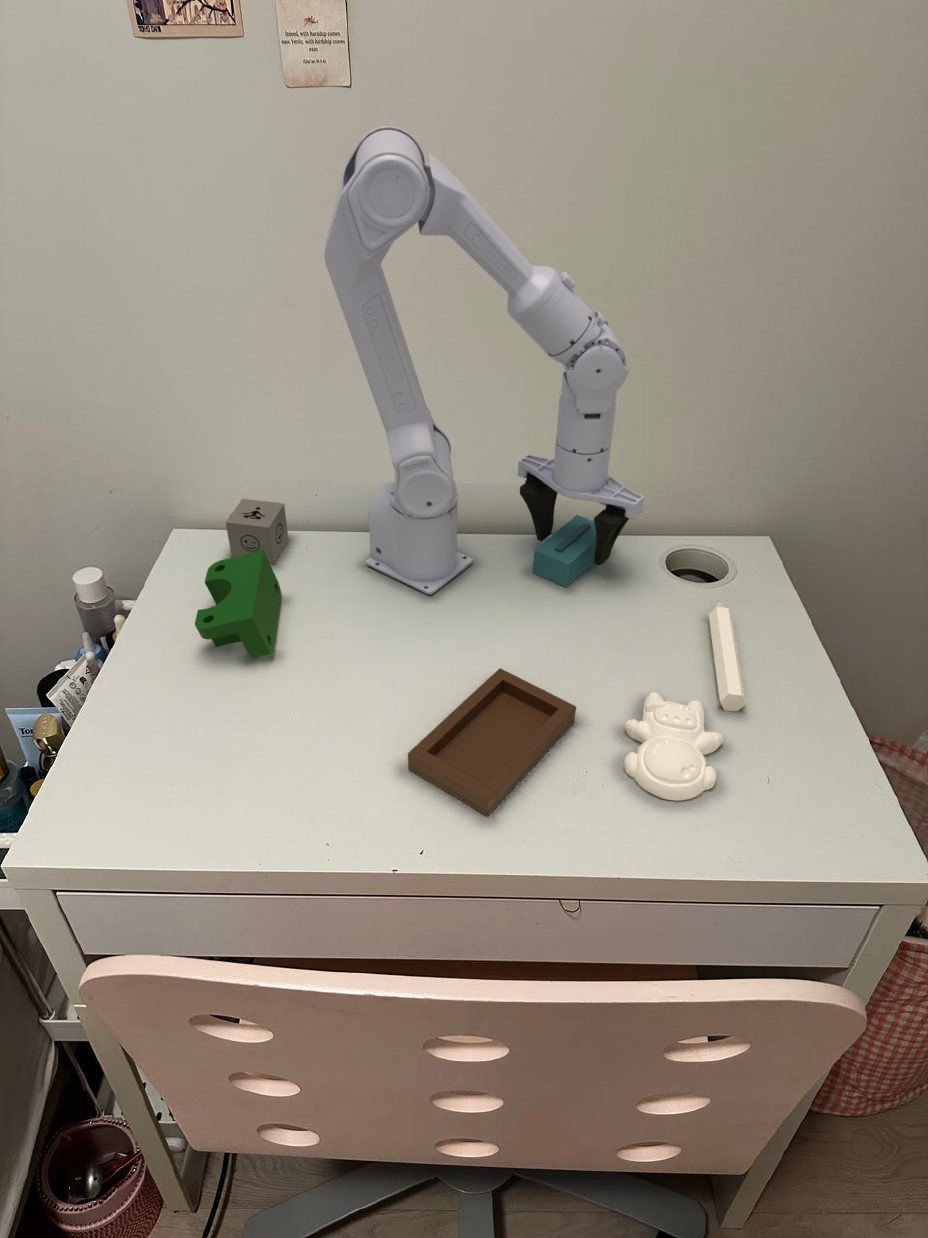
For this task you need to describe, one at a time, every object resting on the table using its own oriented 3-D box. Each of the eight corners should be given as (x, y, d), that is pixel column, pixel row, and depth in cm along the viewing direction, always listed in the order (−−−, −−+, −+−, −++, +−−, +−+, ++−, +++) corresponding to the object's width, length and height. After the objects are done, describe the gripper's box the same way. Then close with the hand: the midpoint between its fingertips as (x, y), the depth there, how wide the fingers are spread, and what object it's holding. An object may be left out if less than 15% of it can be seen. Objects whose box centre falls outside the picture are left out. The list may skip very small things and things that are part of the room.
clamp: (239, 638, 102) (213, 559, 99) (292, 625, 101) (267, 546, 99) (208, 676, 90) (177, 588, 88) (266, 663, 90) (237, 574, 87)
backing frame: (487, 817, 78) (488, 800, 76) (408, 769, 82) (407, 753, 80) (574, 722, 86) (576, 706, 85) (499, 683, 90) (499, 667, 89)
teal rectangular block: (566, 588, 102) (569, 562, 100) (532, 573, 104) (534, 547, 102) (607, 550, 108) (610, 525, 106) (574, 537, 110) (577, 512, 108)
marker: (716, 612, 101) (732, 715, 88) (701, 602, 100) (715, 705, 88) (733, 596, 99) (752, 699, 87) (717, 587, 99) (734, 689, 86)
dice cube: (232, 559, 106) (225, 522, 102) (248, 534, 109) (242, 498, 106) (274, 564, 105) (268, 527, 102) (288, 539, 109) (284, 503, 106)
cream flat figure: (726, 716, 87) (733, 693, 85) (709, 812, 78) (716, 788, 77) (634, 694, 89) (638, 671, 87) (608, 785, 81) (612, 761, 79)
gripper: (664, 447, 96) (646, 555, 104) (545, 407, 102) (538, 511, 111) (630, 475, 91) (615, 585, 100) (509, 431, 98) (504, 538, 106)
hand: (572, 548), depth 105 cm, fingers open, 7 cm apart
